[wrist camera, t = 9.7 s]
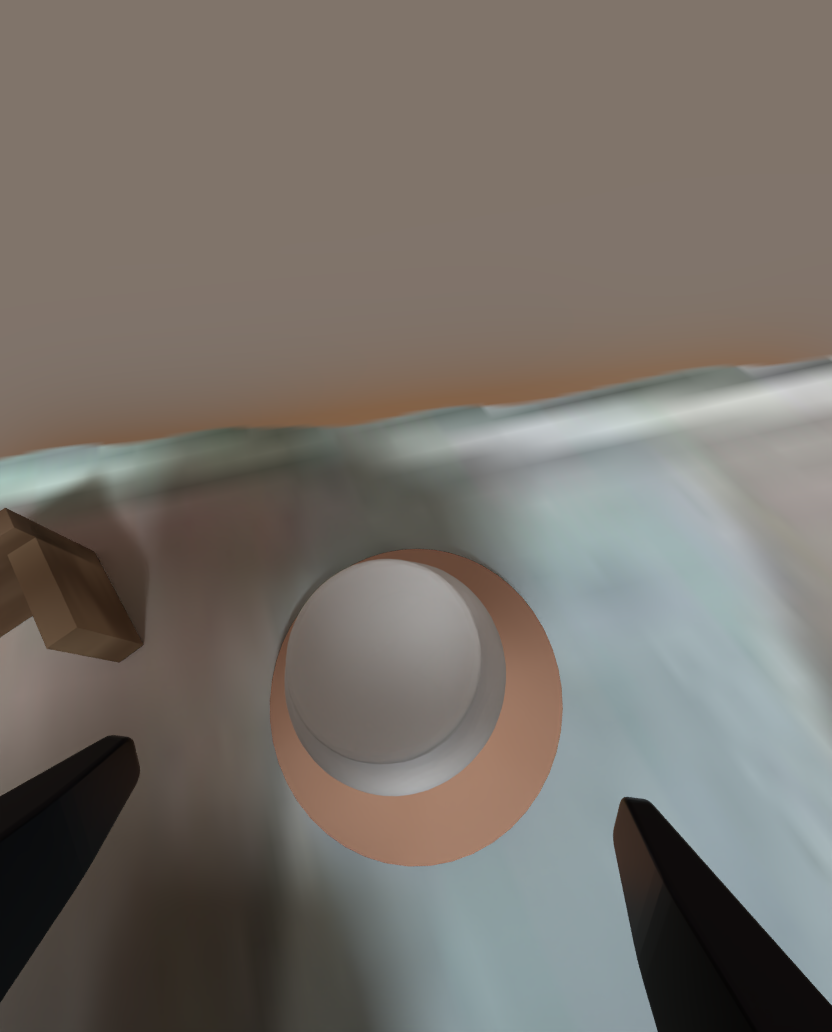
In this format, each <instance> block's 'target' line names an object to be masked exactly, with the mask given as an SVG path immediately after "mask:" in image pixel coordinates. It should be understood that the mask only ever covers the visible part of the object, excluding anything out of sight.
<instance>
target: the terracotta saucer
mask: <svg viewBox="0 0 832 1032" xmlns="http://www.w3.org/2000/svg"><path fill="white" fill-rule="evenodd" d="M377 559H399V560H405V561H411V562H417V563H421V564H425V565H429V566H432V567H435V568H438V569H440V570H443V571H445V572H446V573H448V574H450V575H451V576H453V577H455V578H456V579H458V580H459V581H460V582H462V583H463V584H464V585H465V586H467V587H468V588H469V589H470V590H471V591H472V592H473V593H474V594H475V595H476V596H477V597H478V598H479V600H480V601H481V602H482V604H483V605H484V606H485V608H486V609H487V611H488V612H489V614H490V616H491V617H492V620H493V622H494V624H495V626H496V628H497V631H498V633H499V636H500V639H501V643H502V646H503V651H504V656H505V664H506V685H505V695H504V700H503V705H502V709H501V712H500V715H499V718H498V721H497V723H496V726H495V728H494V730H493V732H492V734H491V736H490V738H489V740H488V741H487V743H486V744H485V746H484V747H483V749H482V750H481V751H480V752H479V754H478V755H477V756H476V757H475V758H474V759H473V761H472V762H471V763H470V764H469V765H468V766H466V767H465V768H464V769H463V770H462V771H461V772H459V773H458V774H457V775H455V776H454V777H452V778H451V779H450V780H448V781H446V782H444V783H443V784H441V785H438V786H436V787H434V788H432V789H429V790H427V791H423V792H420V793H416V794H411V795H404V796H381V795H374V794H370V793H365V792H362V791H359V790H356V789H354V788H351V787H349V786H347V785H345V784H343V783H341V782H339V781H338V780H336V779H335V778H333V777H332V776H330V775H329V774H327V773H326V772H325V771H324V770H323V769H322V768H321V767H320V766H319V765H318V764H317V763H316V762H315V761H314V760H313V759H312V757H311V756H310V755H309V754H308V752H307V751H306V750H305V748H304V747H303V745H302V744H301V742H300V740H299V738H298V736H297V734H296V732H295V730H294V728H293V725H292V722H291V719H290V716H289V712H288V709H287V704H286V697H285V666H286V653H287V645H288V641H289V637H290V633H291V631H292V628H293V625H294V623H295V621H296V619H295V620H294V622H293V624H292V625H291V627H290V629H289V631H288V633H287V635H286V637H285V639H284V641H283V644H282V647H281V650H280V652H279V655H278V658H277V661H276V665H275V670H274V674H273V679H272V686H271V696H270V723H271V730H272V737H273V743H274V747H275V751H276V754H277V758H278V762H279V765H280V767H281V770H282V772H283V774H284V777H285V779H286V782H287V784H288V785H289V787H290V789H291V791H292V792H293V794H294V796H295V798H296V799H297V801H298V802H299V804H300V805H301V806H302V808H303V809H304V810H305V811H306V813H307V814H308V815H309V817H310V818H311V819H312V820H313V821H314V822H315V823H316V824H317V825H318V826H319V827H320V828H321V829H322V830H323V831H324V832H326V833H327V834H328V835H329V836H331V837H332V838H333V839H335V840H336V841H338V842H339V843H340V844H342V845H343V846H345V847H347V848H349V849H351V850H353V851H355V852H357V853H359V854H361V855H363V856H365V857H368V858H371V859H374V860H377V861H381V862H384V863H388V864H396V865H403V866H431V865H436V864H441V863H446V862H451V861H455V860H457V859H460V858H463V857H465V856H468V855H471V854H473V853H475V852H477V851H479V850H481V849H482V848H484V847H486V846H488V845H489V844H491V843H493V842H494V841H495V840H497V839H498V838H499V837H501V836H502V835H503V834H504V833H506V832H507V831H508V830H509V829H511V828H512V827H513V825H514V824H515V823H516V822H517V821H518V820H519V819H520V818H521V817H522V816H523V815H524V814H525V813H526V811H527V810H528V809H529V807H530V806H531V804H532V803H533V801H534V800H535V798H536V797H537V796H538V794H539V792H540V791H541V789H542V787H543V785H544V783H545V781H546V779H547V777H548V775H549V772H550V770H551V767H552V764H553V761H554V758H555V755H556V752H557V747H558V742H559V738H560V733H561V723H562V710H563V708H562V688H561V682H560V676H559V670H558V666H557V663H556V659H555V656H554V653H553V649H552V647H551V644H550V642H549V640H548V637H547V635H546V633H545V631H544V629H543V627H542V625H541V624H540V622H539V620H538V619H537V617H536V615H535V614H534V612H533V611H532V610H531V608H530V607H529V606H528V604H527V603H526V602H525V600H524V599H523V598H522V597H521V596H520V595H519V594H518V593H517V592H516V591H515V590H514V589H513V588H512V587H511V586H510V585H509V584H508V583H507V582H505V581H504V580H503V579H502V578H500V577H499V576H498V575H497V574H495V573H493V572H492V571H490V570H489V569H487V568H485V567H484V566H482V565H480V564H478V563H476V562H474V561H471V560H469V559H467V558H464V557H461V556H458V555H455V554H452V553H448V552H442V551H437V550H428V549H405V550H397V551H391V552H386V553H382V554H379V555H376V556H372V557H369V558H367V559H365V560H362V561H360V562H358V563H362V562H365V561H369V560H377ZM358 563H356V564H358ZM353 565H355V564H353ZM296 618H297V617H296Z"/></svg>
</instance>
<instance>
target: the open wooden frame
mask: <svg viewBox="0 0 832 1032" xmlns="http://www.w3.org/2000/svg"><path fill="white" fill-rule="evenodd" d="M31 616H33V617H34V620H35V622H36V624H37V627H38V629H39V631H40V634H41V636H42V639H43V641H44V643H45V646H46V648H47V649H52V650H57V651H62V652H67V653H73V654H78V655H83V656H88V657H94V658H99V659H104V660H109V661H114V662H121V661H122V660H123V659H125V658H126V657H128V656H129V655H130V654H132V653H133V652H134V651H136V650H137V649H138V648H140V647H141V646H142V645H143V643H142V641H141V639H140V637H139V635H138V634H137V632H136V630H135V628H134V626H133V624H132V622H131V620H130V618H129V617H128V615H127V613H126V611H125V609H124V607H123V605H122V603H121V601H120V600H119V598H118V596H117V594H116V592H115V590H114V588H113V586H112V584H111V583H110V581H109V579H108V577H107V575H106V573H105V571H104V569H103V567H102V566H101V564H100V562H99V560H98V558H97V556H96V554H95V552H94V551H92V550H90V549H88V548H86V547H84V546H82V545H80V544H78V543H76V542H74V541H71V540H69V539H67V538H65V537H63V536H61V535H59V534H57V533H55V532H53V531H51V530H49V529H47V528H45V527H43V526H41V525H39V524H37V523H35V522H33V521H31V520H29V519H27V518H25V517H23V516H21V515H19V514H17V513H15V512H13V511H11V510H9V509H7V508H4V509H3V510H1V511H0V637H1V636H3V635H4V634H6V633H7V632H9V631H10V630H12V629H13V628H15V627H16V626H18V625H19V624H21V623H22V622H24V621H25V620H27V619H28V618H30V617H31Z"/></svg>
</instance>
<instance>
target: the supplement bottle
mask: <svg viewBox="0 0 832 1032" xmlns="http://www.w3.org/2000/svg"><path fill="white" fill-rule="evenodd" d="M505 685H506V664H505V656H504V651H503V646H502V643H501V639H500V636H499V633H498V631H497V628H496V626H495V624H494V622H493V620H492V617H491V616H490V614H489V612H488V611H487V609H486V608H485V606H484V605H483V604H482V602H481V601H480V600H479V598H478V597H477V596H476V595H475V594H474V593H473V592H472V591H471V590H470V589H469V588H468V587H467V586H465V585H464V584H463V583H462V582H460V581H459V580H458V579H456V578H455V577H453V576H451V575H450V574H448V573H446V572H445V571H443V570H440V569H438V568H435V567H432V566H429V565H425V564H421V563H417V562H411V561H405V560H399V559H377V560H369V561H365V562H362V563H358V564H355V565H352V566H350V567H348V568H346V569H344V570H342V571H340V572H338V573H337V574H335V575H334V576H332V577H331V578H329V579H328V580H327V581H326V582H324V583H323V584H322V585H321V586H320V587H319V588H318V589H317V590H316V591H315V592H314V593H313V594H312V595H311V597H310V598H309V599H308V600H307V602H306V603H305V604H304V606H303V607H302V609H301V611H300V613H299V614H298V616H297V618H296V621H295V623H294V625H293V628H292V631H291V633H290V637H289V641H288V645H287V653H286V666H285V697H286V704H287V709H288V712H289V716H290V719H291V722H292V725H293V728H294V730H295V732H296V734H297V736H298V738H299V740H300V742H301V744H302V745H303V747H304V748H305V750H306V751H307V752H308V754H309V755H310V756H311V757H312V759H313V760H314V761H315V762H316V763H317V764H318V765H319V766H320V767H321V768H322V769H323V770H324V771H325V772H326V773H327V774H329V775H330V776H332V777H333V778H335V779H336V780H338V781H339V782H341V783H343V784H345V785H347V786H349V787H351V788H354V789H356V790H359V791H362V792H365V793H370V794H374V795H381V796H404V795H411V794H416V793H420V792H423V791H427V790H429V789H432V788H434V787H436V786H438V785H441V784H443V783H444V782H446V781H448V780H450V779H451V778H452V777H454V776H455V775H457V774H458V773H459V772H461V771H462V770H463V769H464V768H465V767H466V766H468V765H469V764H470V763H471V762H472V761H473V759H474V758H475V757H476V756H477V755H478V754H479V752H480V751H481V750H482V749H483V747H484V746H485V744H486V743H487V741H488V740H489V738H490V736H491V734H492V732H493V730H494V728H495V726H496V723H497V721H498V718H499V715H500V712H501V709H502V705H503V700H504V695H505Z"/></svg>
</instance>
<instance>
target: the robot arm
mask: <svg viewBox="0 0 832 1032" xmlns="http://www.w3.org/2000/svg"><path fill="white" fill-rule="evenodd" d="M139 774H140V766H139V762H138V757H137V753H136V749H135V745H134V742H133V740H132V739H131V738H130V737H124V736H116V735H111V736H107V737H105V738H103V739H101V740H99V741H97V742H96V743H94V744H92V745H90V746H89V747H87V748H85V749H83V750H81V751H80V752H78V753H76V754H74V755H73V756H71V757H69V758H67V759H66V760H64V761H62V762H60V763H58V764H57V765H55V766H53V767H51V768H50V769H48V770H46V771H44V772H42V773H41V774H39V775H37V776H35V777H34V778H32V779H30V780H28V781H27V782H25V783H23V784H21V785H19V786H18V787H16V788H14V789H12V790H11V791H9V792H7V793H5V794H4V795H2V796H0V1002H1V1001H2V999H3V998H4V996H5V995H6V993H7V992H8V990H9V989H10V987H11V986H12V984H13V983H14V981H15V980H16V978H17V977H18V975H19V974H20V972H21V971H22V969H23V968H24V966H25V965H26V963H27V962H28V960H29V959H30V957H31V956H32V954H33V953H34V951H35V950H36V948H37V947H38V945H39V944H40V942H41V941H42V939H43V938H44V936H45V934H46V933H47V931H48V930H49V928H50V927H51V925H52V924H53V922H54V921H55V919H56V918H57V916H58V915H59V913H60V912H61V910H62V909H63V907H64V906H65V904H66V903H67V901H68V900H69V898H70V897H71V895H72V894H73V892H74V891H75V889H76V888H77V886H78V885H79V883H80V881H81V880H82V878H83V877H84V875H85V873H86V872H87V870H88V868H89V867H90V865H91V863H92V862H93V860H94V858H95V856H96V855H97V853H98V851H99V849H100V848H101V846H102V844H103V842H104V840H105V839H106V837H107V835H108V833H109V832H110V830H111V828H112V826H113V824H114V823H115V821H116V819H117V817H118V816H119V814H120V812H121V810H122V808H123V807H124V805H125V803H126V801H127V800H128V798H129V796H130V794H131V792H132V791H133V789H134V787H135V785H136V783H137V781H138V778H139ZM613 841H614V848H615V853H616V858H617V863H618V868H619V873H620V878H621V883H622V887H623V892H624V897H625V902H626V907H627V912H628V917H629V922H630V927H631V932H632V937H633V942H634V946H635V951H636V955H637V960H638V964H639V968H640V971H641V975H642V979H643V982H644V986H645V989H646V993H647V996H648V1000H649V1003H650V1007H651V1010H652V1013H653V1017H654V1020H655V1024H656V1027H657V1031H658V1032H832V1005H831V1004H830V1003H829V1002H828V1001H827V1000H826V999H825V997H824V996H823V995H822V994H821V993H820V992H819V991H818V990H817V988H816V987H815V986H814V985H813V984H812V983H811V982H810V981H809V979H808V978H807V977H806V976H805V975H804V974H803V973H802V972H801V970H800V969H799V968H798V967H797V966H796V965H795V964H794V963H793V961H792V960H791V959H790V958H789V957H788V956H787V955H786V954H785V952H784V951H783V950H782V949H781V948H780V947H779V946H778V945H777V943H776V942H775V941H774V940H773V939H772V938H771V937H770V936H769V934H768V933H767V932H766V931H765V930H764V929H763V928H762V927H761V925H760V924H759V923H758V922H757V921H756V920H755V919H754V918H753V916H752V915H751V914H750V913H749V912H748V911H747V910H746V909H745V907H744V906H743V905H742V904H741V903H740V902H739V901H738V900H737V898H736V897H735V896H734V895H733V894H732V893H731V892H730V891H729V889H728V888H727V887H726V886H725V885H724V884H723V883H722V882H721V880H720V879H719V878H718V877H717V876H716V875H715V874H714V873H713V871H712V870H711V869H710V868H709V867H708V866H707V865H706V864H705V862H704V861H703V860H702V859H701V858H700V857H699V856H698V855H697V853H696V852H695V851H694V850H693V849H692V848H691V847H690V846H689V845H688V843H687V842H686V841H685V840H684V839H683V838H682V837H681V836H680V834H679V833H678V832H677V831H676V830H675V829H674V828H673V827H672V825H671V824H670V823H669V822H668V821H667V820H666V819H665V818H664V816H663V815H662V814H661V813H660V812H659V811H658V810H657V809H656V807H655V806H654V805H653V804H652V803H651V802H649V801H648V800H645V799H640V798H632V797H624V798H623V799H622V800H621V802H620V805H619V809H618V813H617V818H616V822H615V826H614V830H613Z"/></svg>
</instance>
